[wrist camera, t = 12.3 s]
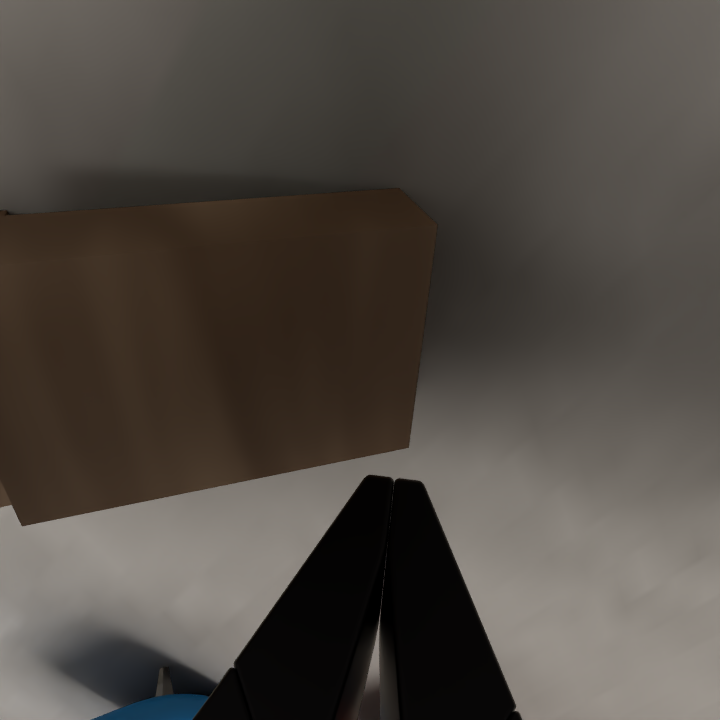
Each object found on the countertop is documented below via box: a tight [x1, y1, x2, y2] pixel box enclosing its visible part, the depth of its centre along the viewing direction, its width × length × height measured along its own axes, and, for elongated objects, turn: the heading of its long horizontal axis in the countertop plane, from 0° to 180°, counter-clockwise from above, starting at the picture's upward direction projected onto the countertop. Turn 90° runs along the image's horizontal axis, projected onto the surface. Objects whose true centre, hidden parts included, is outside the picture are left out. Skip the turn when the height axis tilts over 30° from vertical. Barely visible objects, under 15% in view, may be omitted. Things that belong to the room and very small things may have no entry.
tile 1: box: [0, 188, 438, 526], centre depth 10 cm, size 2×5×7 cm
